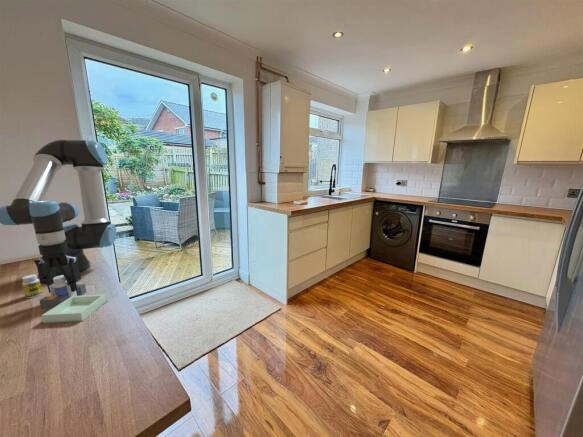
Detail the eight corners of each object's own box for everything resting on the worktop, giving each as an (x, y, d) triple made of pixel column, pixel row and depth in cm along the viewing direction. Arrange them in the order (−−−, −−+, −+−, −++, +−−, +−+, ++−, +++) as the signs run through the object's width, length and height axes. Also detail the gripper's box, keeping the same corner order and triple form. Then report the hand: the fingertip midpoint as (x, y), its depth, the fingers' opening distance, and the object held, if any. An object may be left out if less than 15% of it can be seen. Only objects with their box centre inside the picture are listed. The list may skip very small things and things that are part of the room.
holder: (68, 292, 98) (66, 283, 97) (86, 291, 99) (84, 283, 98) (41, 309, 87) (38, 299, 86) (61, 307, 87) (59, 298, 86)
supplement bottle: (31, 299, 94) (26, 279, 92) (22, 298, 95) (17, 278, 93) (45, 293, 98) (41, 274, 97) (37, 292, 99) (32, 273, 98)
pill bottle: (77, 297, 94) (73, 274, 92) (61, 304, 89) (55, 280, 87) (69, 295, 96) (64, 273, 94) (52, 302, 91) (46, 278, 89)
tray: (73, 303, 90) (72, 296, 90) (107, 301, 91) (106, 294, 91) (43, 323, 78) (41, 315, 78) (82, 321, 79) (80, 313, 79)
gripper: (14, 246, 84) (30, 305, 88) (70, 244, 85) (82, 303, 90) (35, 240, 91) (48, 295, 96) (86, 238, 92) (97, 293, 97)
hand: (65, 299), depth 93 cm, fingers closed on pill bottle, 5 cm apart
